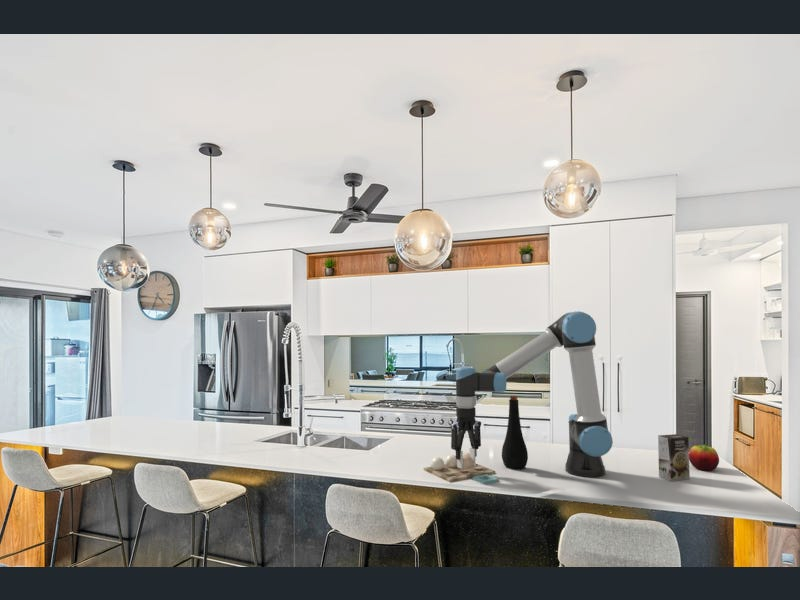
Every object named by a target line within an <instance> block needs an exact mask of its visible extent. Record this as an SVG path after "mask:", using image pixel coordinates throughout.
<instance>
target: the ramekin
mask: <svg viewBox="0 0 800 600" xmlns="http://www.w3.org/2000/svg"><path fill="white" fill-rule="evenodd" d="M471 479H472V480H473V481H475V482H477V483H480V484H482V485H488V484H493V483H497V482H498V483H499V482H500V481H499V478H497V477H495V476H492V475H491V474H489V475H488V474H485V475H479V476H474V477H472V478H471Z"/></svg>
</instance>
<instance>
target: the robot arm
mask: <svg viewBox="0 0 800 600" xmlns="http://www.w3.org/2000/svg"><path fill="white" fill-rule="evenodd" d="M595 321H596V320H594V318H593V317H592V316H591V315H590V314H588V313H586V312H583V311H579V310H577V311H571V312H566V313H565V314H563V315H561V316H560V317H559V318H558V319H557V320H555V321H554V322H553V323H551V324H550V325H549V326H547V327H546V329H545V331H544V332H543V333H541V334H539V335H538V336H536V337H535V338H533V339H531V340H530V341H529V342H527V343H526V344H524V345H522V346H521V347H520V348H518V349H516V350H515V351H514V352H512V353H511V354H509V355H507V356H506V357H504V358H503V359H501V360H499V361H498V362H497V363H495V364H494V365H492V366H490V367H488V368H486V369H484V370H483V371H482V372H478V371H476V368H475V367H471V366H458V367H457V368H456V370H455V373H456V375H455V390H456V391H455V393H456V394H455V395H456V397H455V398H456V399H455V401H456V410H455V413H456V414H455V416H456V421H455V422H454V423H450V425H449V426H450V428H451V430H450V431H451V433H450V434H451V435H450V437H451V440H450V441H451V442H450V448H451V450H454V451H455V456H456V459H457V467H458V468H461V469H462V468H463V453H464V452H463V451H462V447H463V442H464V439H465V434H466V432H467V434H468V438H469V443H470V446H471V447H470V448H469V454H470V457H471V458H472V459H473V466H475V463H476V457H478V455H477V453H478V452H477V451H478V449H479V447H480V448H481V446H482V441H481V440H482V439H481V438H482V437H481V435H482V434H481V425H482V422H481V421H480V420H476V418H475V417H476V407H475V406H476V405H477V404H476V392H482V393H486V392H487V393H503V392H506V391H507V379H509V378H510V377H512V376H513V375H515V374H516V373H518V372H519V371H521V370H522V369H524V368H526V367H527V366H529V365H530V364H532V363H533V362H535V361H536V360H538V359H540V358H541V357H542V356H544V355H547V353H549V352H551V351H553V350H554V349H555V348H562V347H563V349H564V350H565V351H566V352H568V356H569V363H570V364H569V365H570V371H571V378H572V386H573V391H574V399H575V407H576V414H575V413H574V414H573V413H572V414H570V415H569V416H568V421H567V422H568V435H569V436H568V437H569V438H568V439H569V440H568V442H569V444H568V445H569V453H568V455H567V459H566V462H565V469H564V470H565V472H567V473H568V474H570V475H574V476H578V477H584V478H585V477H586V478H597V477H598V478H599V477H603V476H605V475H606V467H605V465H604V461H603V458H602V457H603V456H604V455H606V454H608V453H609V452H610V451H611V449H612V446H613V443H614V442H613V436H612V433H611V432H610V431H609V429H608V428H609V427H608V421H607V417H606V416H605V415H604V414H603V413H602V410H601V403H600V396H599V389H598V381H597V373H596V367H595V359H594V353H593V349H594V348H595V347H596V346H597V345H596V337H595V335H596V332H597V324H596V322H595Z"/></svg>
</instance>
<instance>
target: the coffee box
mask: <svg viewBox="0 0 800 600" xmlns="http://www.w3.org/2000/svg"><path fill="white" fill-rule="evenodd" d="M657 441H658V442H657V443H658V445H657V446H658V447H657V448H658V477H660V478H663V479H664V480H668V481H670V482H676V481H677V482H678V481H683V480H684V481H685V480H690V479H691V478H690V477H691V475H690V461H689V452H690V448H689V446H690V445H689V441H690V440H689V437H688V436H685V435H680V434H673V433H672V434H660V435H657Z"/></svg>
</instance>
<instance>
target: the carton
mask: <svg viewBox="0 0 800 600" xmlns="http://www.w3.org/2000/svg"><path fill="white" fill-rule="evenodd" d="M423 471H425V472H427V473H429V474H431V475H433V476H436V477H437V478H440V479H442V480H443V481H446V482H448V483H452V482H458V481H463V480H468V479H472V477H474V476H479V475H485V474H488V475H495V474H496V471H495V470H494V469H491V468H489V467H486V466H483V465H481V464H478V463H476V462H475V466H472V468H471V469H469V470H465V469H463V468H462V469H461V468H458V467H455V468H449V467H447V466H446V464H445V463H444V468H443V469H442V470H438V471H435V470H433V469H432V467H431V466H427V467H423Z"/></svg>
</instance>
